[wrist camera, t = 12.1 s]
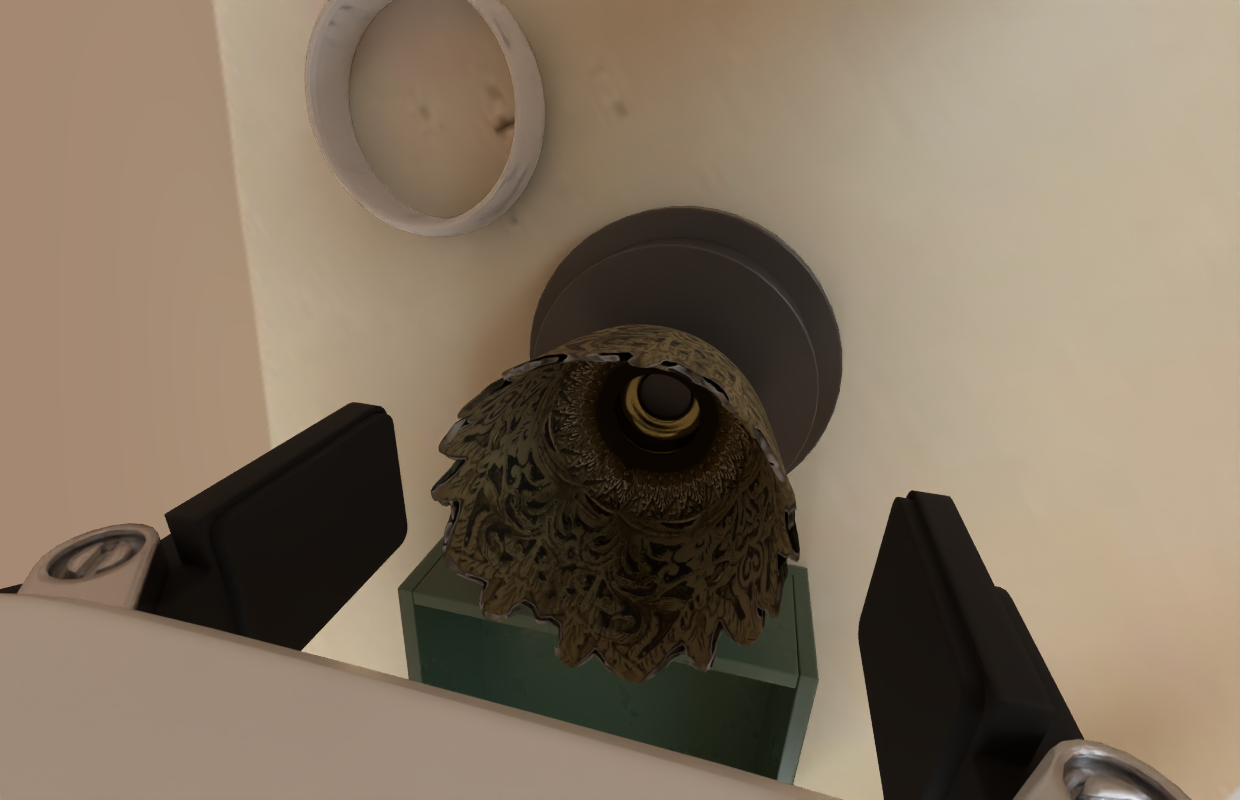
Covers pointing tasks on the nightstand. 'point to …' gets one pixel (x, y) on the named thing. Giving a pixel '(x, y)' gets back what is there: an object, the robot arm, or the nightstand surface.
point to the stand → (707, 311)
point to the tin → (597, 699)
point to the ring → (335, 136)
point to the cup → (621, 502)
